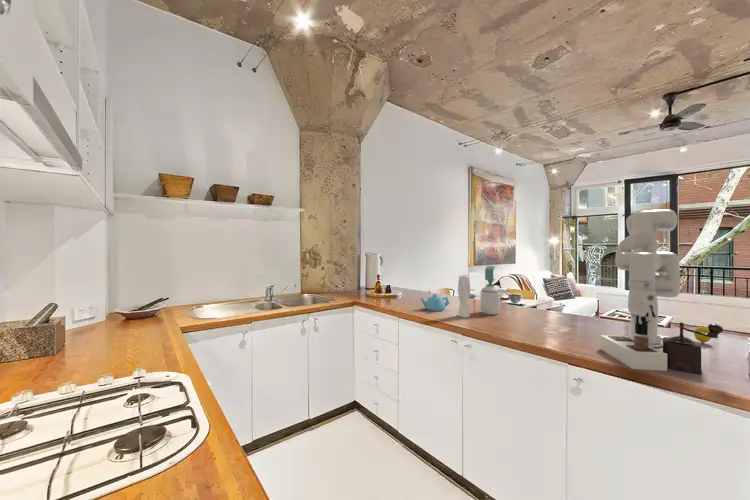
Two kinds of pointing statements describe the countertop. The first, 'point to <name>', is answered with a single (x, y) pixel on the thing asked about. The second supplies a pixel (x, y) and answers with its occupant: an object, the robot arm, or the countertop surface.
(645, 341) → the peg
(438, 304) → the teapot
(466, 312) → the twisted white vase
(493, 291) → the soap bottle
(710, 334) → the coffee grinder
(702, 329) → the lemon
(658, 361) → the peg block
